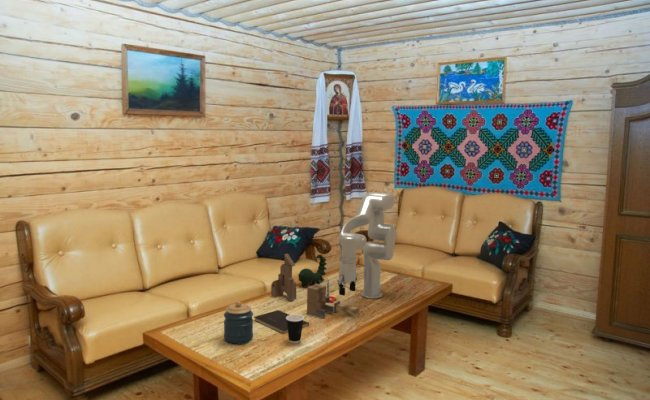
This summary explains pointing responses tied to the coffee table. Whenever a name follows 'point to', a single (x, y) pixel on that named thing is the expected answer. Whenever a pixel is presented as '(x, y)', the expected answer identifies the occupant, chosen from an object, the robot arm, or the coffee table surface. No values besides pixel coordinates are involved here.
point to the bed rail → (346, 310)
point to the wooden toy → (285, 281)
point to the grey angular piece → (318, 301)
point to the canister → (238, 324)
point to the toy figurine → (309, 277)
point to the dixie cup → (294, 327)
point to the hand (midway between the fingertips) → (347, 292)
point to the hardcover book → (276, 320)
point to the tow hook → (328, 295)
